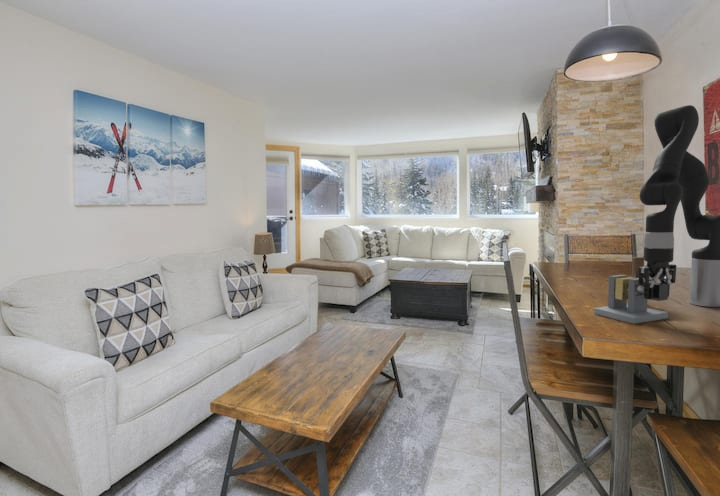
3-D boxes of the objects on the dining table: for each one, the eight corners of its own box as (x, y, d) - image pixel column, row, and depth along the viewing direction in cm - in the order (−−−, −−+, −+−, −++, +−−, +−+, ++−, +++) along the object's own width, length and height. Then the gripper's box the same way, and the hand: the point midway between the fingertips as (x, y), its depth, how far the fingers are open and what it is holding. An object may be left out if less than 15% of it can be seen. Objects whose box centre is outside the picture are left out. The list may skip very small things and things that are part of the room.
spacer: (629, 296, 138) (630, 276, 137) (636, 298, 135) (637, 277, 135) (615, 298, 135) (615, 278, 135) (622, 300, 133) (622, 279, 132)
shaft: (616, 290, 141) (617, 276, 140) (667, 299, 125) (668, 284, 124) (608, 291, 139) (608, 277, 139) (658, 300, 123) (659, 285, 123)
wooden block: (634, 308, 144) (635, 259, 142) (629, 302, 153) (631, 256, 152) (646, 309, 142) (648, 260, 141) (641, 303, 152) (643, 256, 150)
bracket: (626, 308, 144) (627, 273, 143) (667, 318, 131) (669, 278, 129) (594, 313, 138) (594, 276, 137) (633, 323, 125) (634, 282, 124)
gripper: (661, 244, 130) (659, 293, 132) (630, 246, 126) (628, 297, 127) (687, 246, 123) (684, 298, 125) (655, 248, 118) (653, 302, 120)
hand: (656, 297), depth 126 cm, fingers open, 7 cm apart
